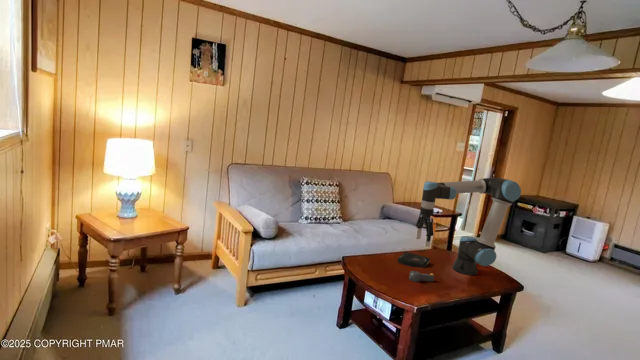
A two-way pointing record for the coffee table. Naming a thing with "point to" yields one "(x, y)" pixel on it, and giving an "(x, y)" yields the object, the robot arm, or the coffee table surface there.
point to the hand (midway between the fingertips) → (422, 242)
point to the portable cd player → (413, 260)
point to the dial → (420, 276)
